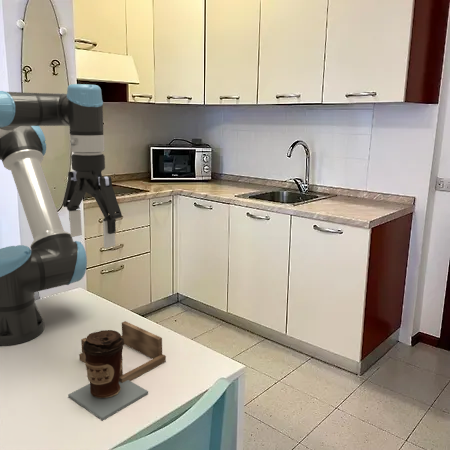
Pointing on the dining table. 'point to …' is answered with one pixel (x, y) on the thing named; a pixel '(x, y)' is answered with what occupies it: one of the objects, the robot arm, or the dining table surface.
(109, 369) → the coffee cup
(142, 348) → the rack
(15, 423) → the dining table surface
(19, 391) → the dining table surface
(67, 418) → the dining table surface
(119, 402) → the coaster
